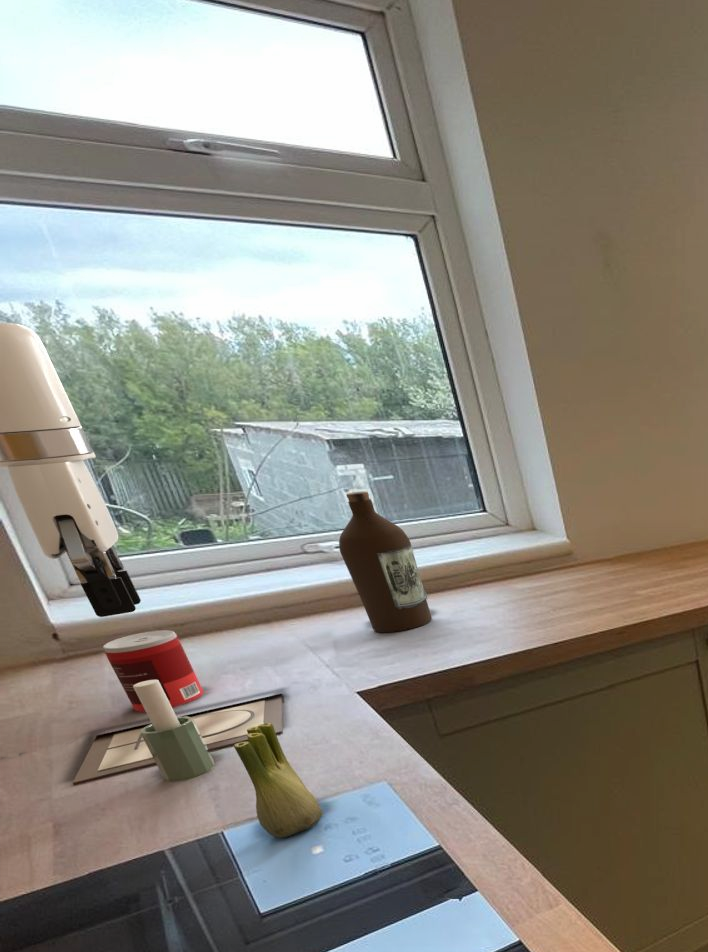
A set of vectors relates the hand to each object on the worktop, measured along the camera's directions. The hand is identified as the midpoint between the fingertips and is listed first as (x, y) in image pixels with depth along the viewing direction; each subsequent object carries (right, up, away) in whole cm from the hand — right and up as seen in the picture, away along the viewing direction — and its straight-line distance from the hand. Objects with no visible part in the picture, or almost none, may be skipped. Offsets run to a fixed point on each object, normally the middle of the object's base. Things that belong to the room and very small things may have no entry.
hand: (119, 608), depth 95 cm
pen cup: (+2, -20, +6) cm, 21 cm away
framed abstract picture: (-8, -16, +16) cm, 24 cm away
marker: (+2, -20, +6) cm, 21 cm away
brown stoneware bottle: (-11, +2, +60) cm, 61 cm away
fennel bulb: (+27, -25, -7) cm, 37 cm away
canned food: (-21, -13, +27) cm, 36 cm away
